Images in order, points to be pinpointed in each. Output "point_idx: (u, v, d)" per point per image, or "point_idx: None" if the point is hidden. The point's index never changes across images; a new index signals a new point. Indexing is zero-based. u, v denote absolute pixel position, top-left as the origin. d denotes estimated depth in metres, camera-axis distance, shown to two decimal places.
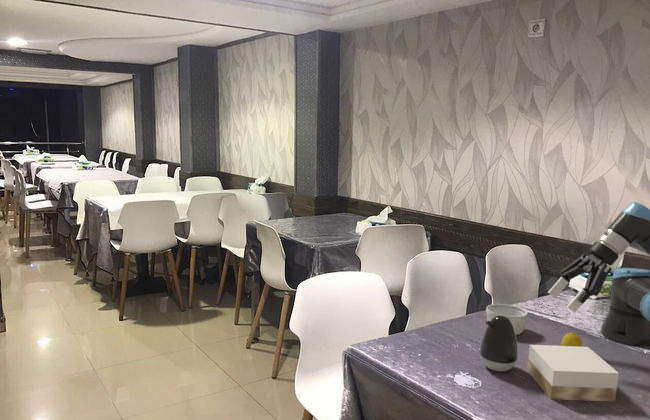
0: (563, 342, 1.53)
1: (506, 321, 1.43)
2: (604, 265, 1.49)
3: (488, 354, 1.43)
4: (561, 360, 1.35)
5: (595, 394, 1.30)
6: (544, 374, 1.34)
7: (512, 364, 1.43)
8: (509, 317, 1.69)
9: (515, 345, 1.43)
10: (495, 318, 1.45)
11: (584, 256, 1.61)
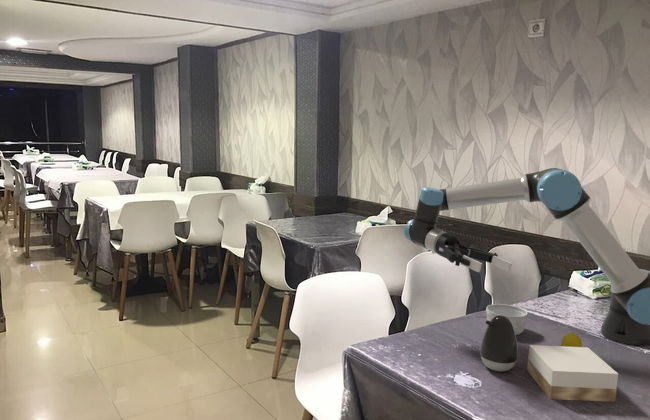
0: (563, 342, 1.53)
1: (506, 321, 1.43)
2: (439, 252, 1.59)
3: (488, 354, 1.43)
4: (561, 360, 1.35)
5: (595, 395, 1.30)
6: (543, 374, 1.34)
7: (512, 364, 1.43)
8: (509, 317, 1.69)
9: (515, 345, 1.43)
10: (495, 318, 1.45)
11: None
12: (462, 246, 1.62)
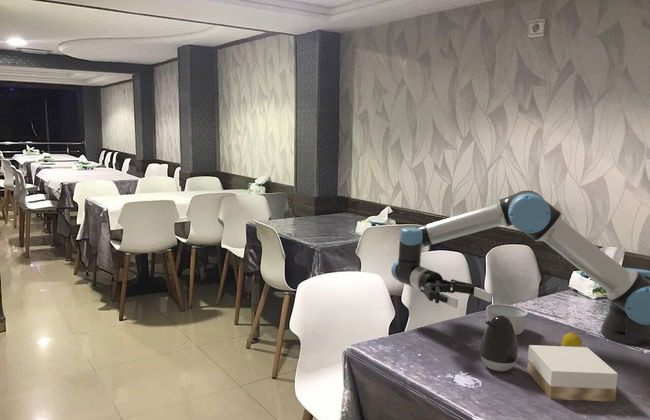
0: (563, 342, 1.53)
1: (506, 321, 1.43)
2: (421, 291, 1.64)
3: (488, 354, 1.43)
4: (560, 361, 1.35)
5: (595, 395, 1.30)
6: (543, 374, 1.34)
7: (512, 364, 1.43)
8: (509, 317, 1.69)
9: (515, 345, 1.43)
10: (495, 318, 1.45)
11: (451, 286, 1.69)
12: (444, 281, 1.66)
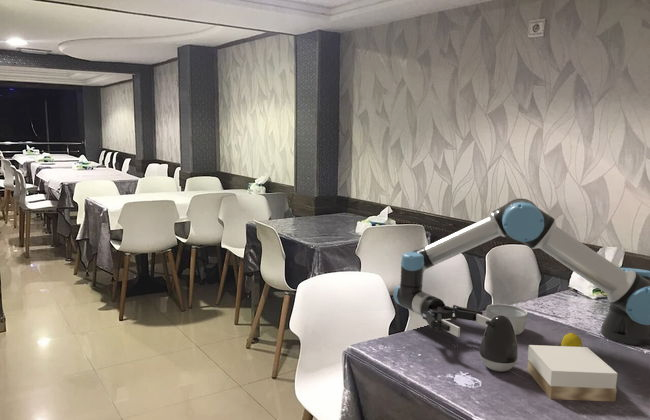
0: (563, 342, 1.53)
1: (506, 321, 1.43)
2: (423, 318, 1.64)
3: (488, 354, 1.43)
4: (560, 360, 1.35)
5: (595, 394, 1.30)
6: (542, 374, 1.34)
7: (512, 364, 1.43)
8: (509, 317, 1.69)
9: (515, 345, 1.43)
10: (495, 318, 1.45)
11: (453, 312, 1.69)
12: (446, 308, 1.66)
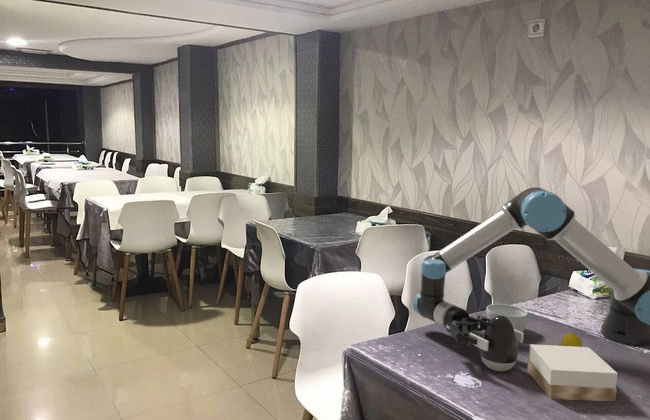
0: (563, 342, 1.53)
1: (506, 321, 1.43)
2: (447, 330, 1.54)
3: (488, 354, 1.43)
4: (560, 360, 1.35)
5: (595, 394, 1.30)
6: (542, 373, 1.35)
7: (512, 364, 1.43)
8: (509, 317, 1.69)
9: (515, 345, 1.43)
10: (495, 318, 1.45)
11: (478, 323, 1.60)
12: (471, 319, 1.56)
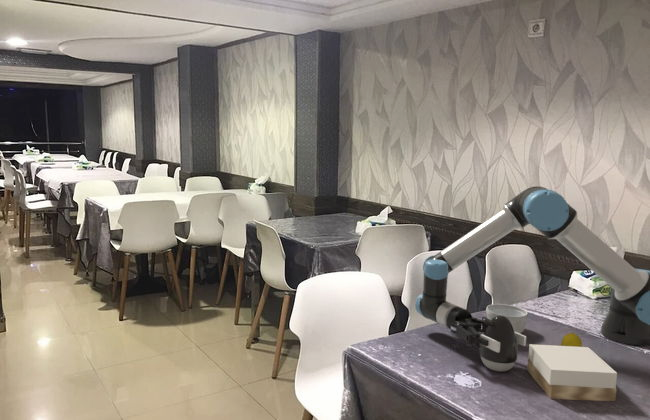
0: (563, 342, 1.53)
1: (506, 321, 1.43)
2: (452, 331, 1.53)
3: (488, 354, 1.43)
4: (560, 360, 1.35)
5: (595, 394, 1.30)
6: (542, 373, 1.35)
7: (512, 364, 1.43)
8: (509, 317, 1.69)
9: (515, 345, 1.43)
10: (495, 318, 1.45)
11: None
12: (473, 320, 1.55)
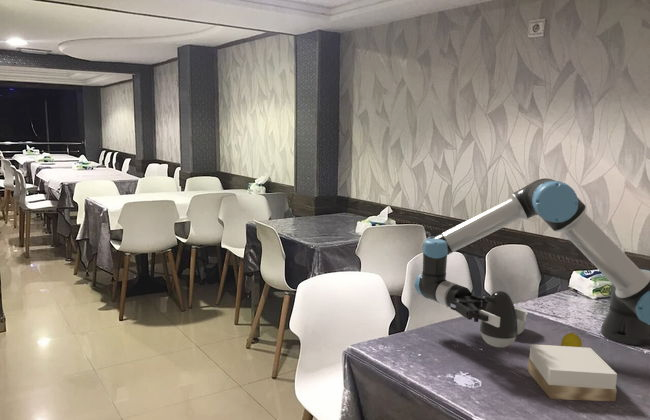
0: (563, 342, 1.53)
1: (506, 296, 1.42)
2: (451, 308, 1.52)
3: (488, 330, 1.42)
4: (560, 360, 1.35)
5: (595, 395, 1.30)
6: (542, 373, 1.35)
7: (512, 339, 1.42)
8: None
9: (515, 320, 1.42)
10: (494, 293, 1.44)
11: (482, 302, 1.58)
12: (473, 297, 1.54)
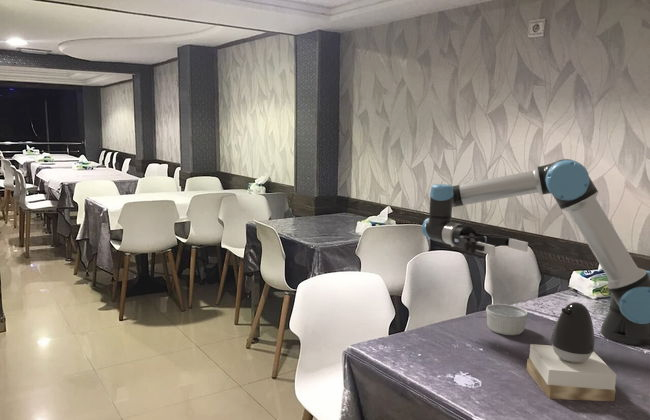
0: None
1: (584, 309, 1.32)
2: (455, 243, 1.63)
3: (564, 344, 1.32)
4: (559, 360, 1.35)
5: (594, 395, 1.30)
6: (541, 373, 1.35)
7: (589, 355, 1.32)
8: (509, 317, 1.69)
9: (593, 334, 1.32)
10: (571, 305, 1.34)
11: (484, 240, 1.69)
12: (477, 234, 1.65)
